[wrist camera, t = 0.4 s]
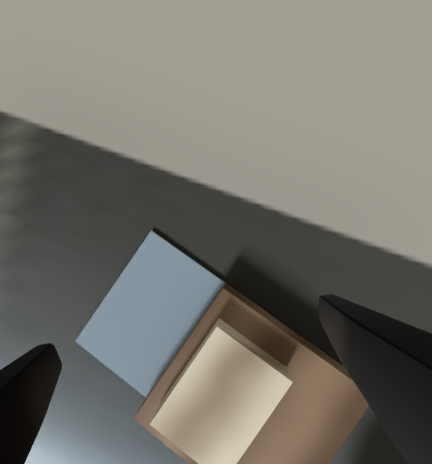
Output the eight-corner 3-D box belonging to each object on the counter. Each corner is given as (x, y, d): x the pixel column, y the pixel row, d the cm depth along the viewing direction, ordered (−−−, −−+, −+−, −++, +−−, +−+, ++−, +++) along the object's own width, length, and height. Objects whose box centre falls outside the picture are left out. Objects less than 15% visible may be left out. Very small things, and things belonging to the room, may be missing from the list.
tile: (286, 367, 18) (292, 382, 16) (224, 457, 18) (222, 483, 16) (219, 317, 19) (216, 326, 17) (158, 405, 19) (149, 424, 17)
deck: (354, 374, 20) (375, 396, 17) (272, 494, 20) (278, 536, 17) (225, 282, 22) (223, 288, 19) (147, 394, 22) (133, 418, 19)
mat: (225, 282, 22) (224, 283, 21) (147, 394, 22) (146, 397, 21) (152, 230, 22) (151, 230, 22) (78, 339, 23) (75, 341, 22)
